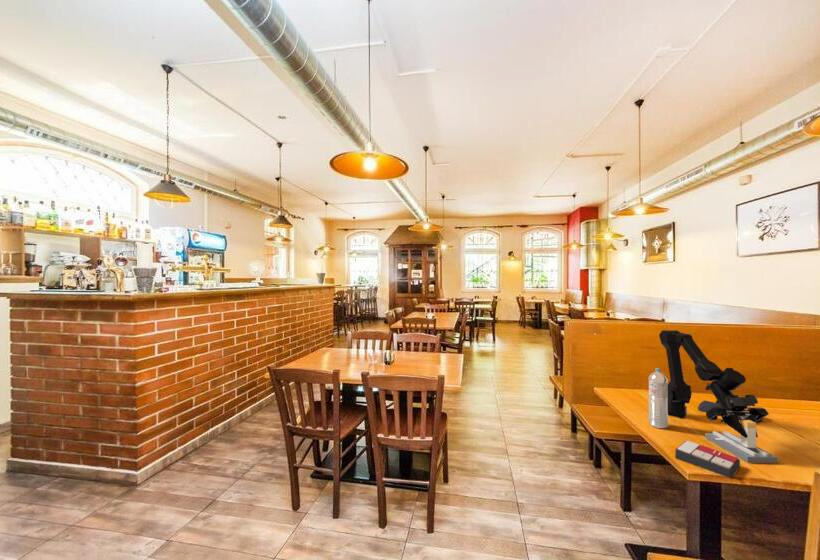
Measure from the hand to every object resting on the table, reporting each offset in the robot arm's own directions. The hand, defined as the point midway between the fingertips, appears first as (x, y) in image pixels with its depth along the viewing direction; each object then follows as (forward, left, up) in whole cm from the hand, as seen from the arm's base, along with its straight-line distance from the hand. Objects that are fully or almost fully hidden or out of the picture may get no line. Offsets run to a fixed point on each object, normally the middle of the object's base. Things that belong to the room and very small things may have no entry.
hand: (751, 437), depth 122 cm
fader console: (-4, +3, -7) cm, 9 cm away
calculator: (-10, -17, -8) cm, 21 cm away
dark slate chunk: (-12, +46, -8) cm, 48 cm away
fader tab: (-1, +1, -5) cm, 5 cm away
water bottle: (-29, +5, -7) cm, 31 cm away
